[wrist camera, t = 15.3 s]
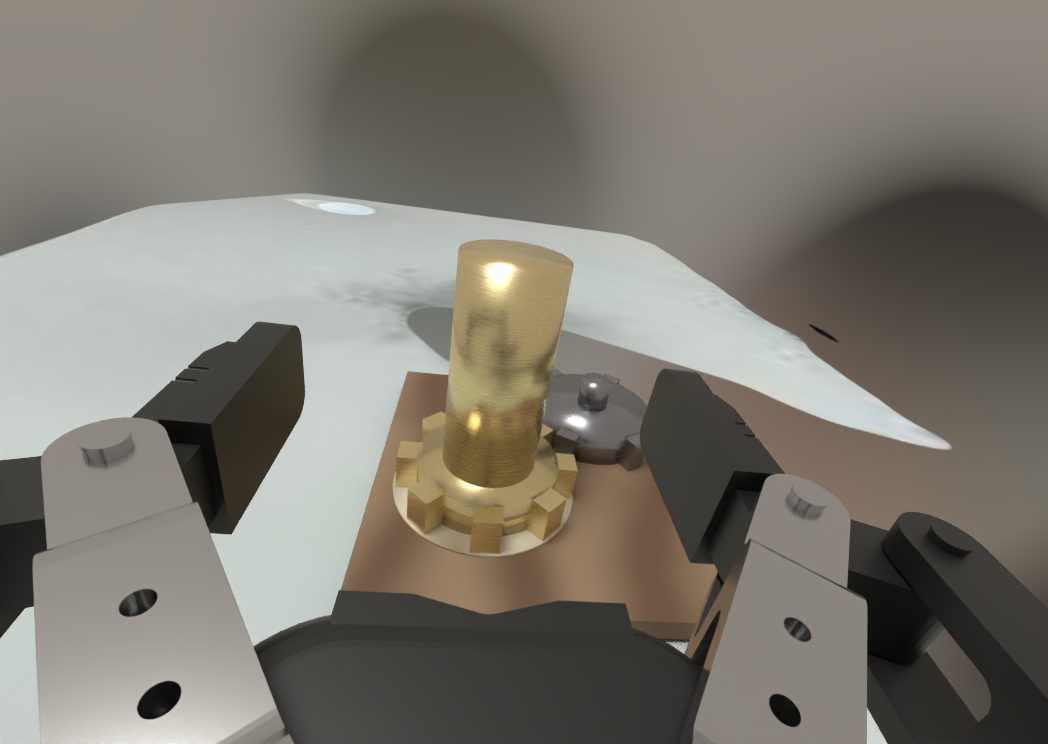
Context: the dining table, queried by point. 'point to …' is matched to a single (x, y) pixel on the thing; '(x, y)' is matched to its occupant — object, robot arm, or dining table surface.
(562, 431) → the gear
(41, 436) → the dining table surface
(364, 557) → the gear board
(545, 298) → the cylinder
